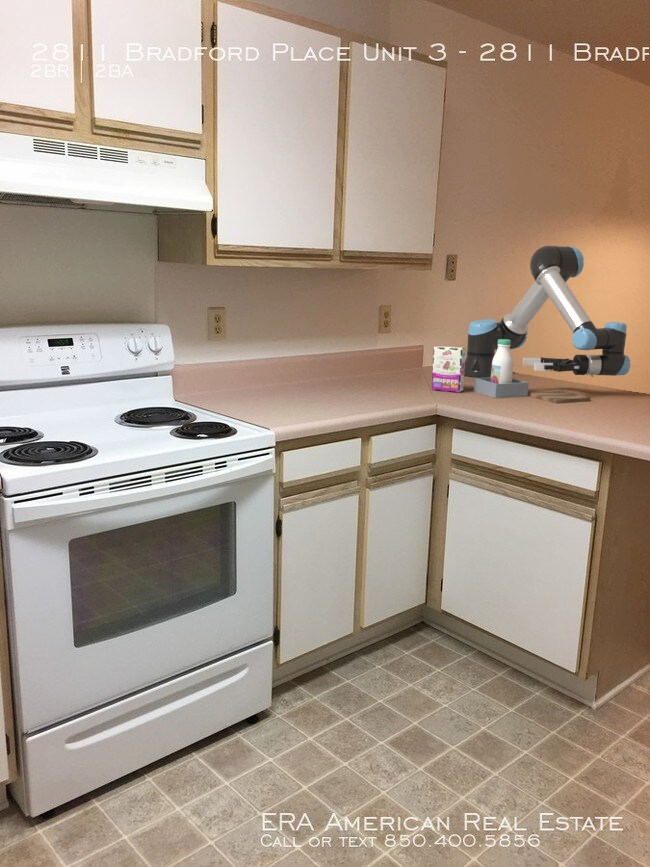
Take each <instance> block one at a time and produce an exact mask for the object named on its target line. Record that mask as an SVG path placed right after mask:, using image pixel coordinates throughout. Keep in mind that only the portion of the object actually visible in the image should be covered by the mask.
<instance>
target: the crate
mask: <svg viewBox="0 0 650 867" xmlns="http://www.w3.org/2000/svg"><path fill="white" fill-rule="evenodd" d="M473 380H474V381H473V392H475V393H479V394H481V395H484V396H486V397H487V396H488V397H490V398H494V399H499V398H500V399H501V398H502V399H503V398H516V397H519V398H520V397H528V396H529V384H530V383H529V382H527V381H525V380H520V379H516V378H513V377H512V383H501V384H496V383H493V382H490V381H491V377H474V379H473Z"/></svg>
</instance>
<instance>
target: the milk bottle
mask: <svg viewBox="0 0 650 867" xmlns="http://www.w3.org/2000/svg"><path fill="white" fill-rule="evenodd" d="M510 344H511V340H507V339H499V340H498V349H497V350H496V351H495V356H494V358H493V361H492V368H491V381H490V382H493V383H496V384H501V383H512V378H513V376H514V375H513V372H514V371H513V370H514V360H513V359H514V358H513V357H512V353H511V349H510Z"/></svg>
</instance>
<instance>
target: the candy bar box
mask: <svg viewBox="0 0 650 867" xmlns="http://www.w3.org/2000/svg"><path fill="white" fill-rule="evenodd" d="M466 353H467V348H466V347H459V346H458V347H457V346H441V345H437V346H434V347H433V353H432V354H433V355H432V375H431V376H432V377H431V378H432V379H431V390H432V391H439V392H449V393H458V394H459V393H462V392H464V386H465V385H464V384H465V383H464V382H465V375H464V369H465V360H466Z"/></svg>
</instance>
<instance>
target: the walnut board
mask: <svg viewBox="0 0 650 867" xmlns="http://www.w3.org/2000/svg"><path fill="white" fill-rule="evenodd" d="M528 396H529V397H531V398H535V399H539V400H542V401H547V402H550V403H553V404H566V403H581V402H583V403H584V402H591V397H589V396H585V395H581V394H578V393H574V392H569V391H565V390H550V391H549V390H547V391H533V392H529V391H528Z"/></svg>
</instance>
